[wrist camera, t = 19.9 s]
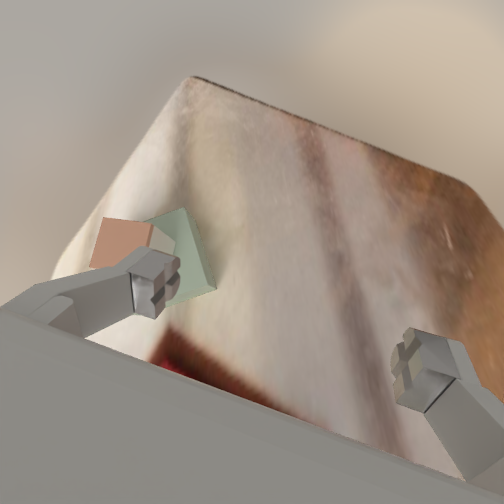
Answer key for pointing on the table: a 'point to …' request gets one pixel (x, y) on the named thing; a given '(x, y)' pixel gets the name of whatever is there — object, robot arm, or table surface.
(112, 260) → the white brown-topped block
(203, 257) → the green box
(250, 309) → the table surface
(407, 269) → the table surface
